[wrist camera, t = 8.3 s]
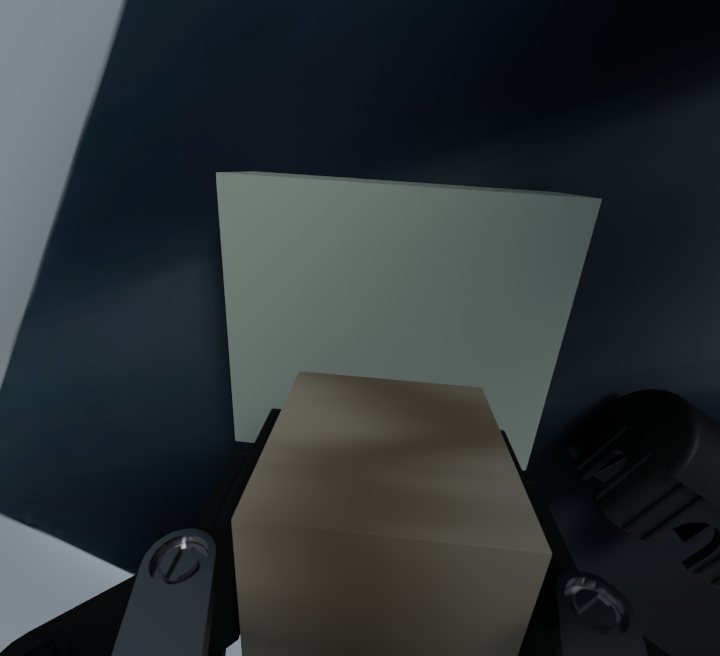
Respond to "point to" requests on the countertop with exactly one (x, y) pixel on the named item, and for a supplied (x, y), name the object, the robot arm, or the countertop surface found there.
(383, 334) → the sage stand
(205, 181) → the countertop surface
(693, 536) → the end cap
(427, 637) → the maple cube
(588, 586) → the robot arm
